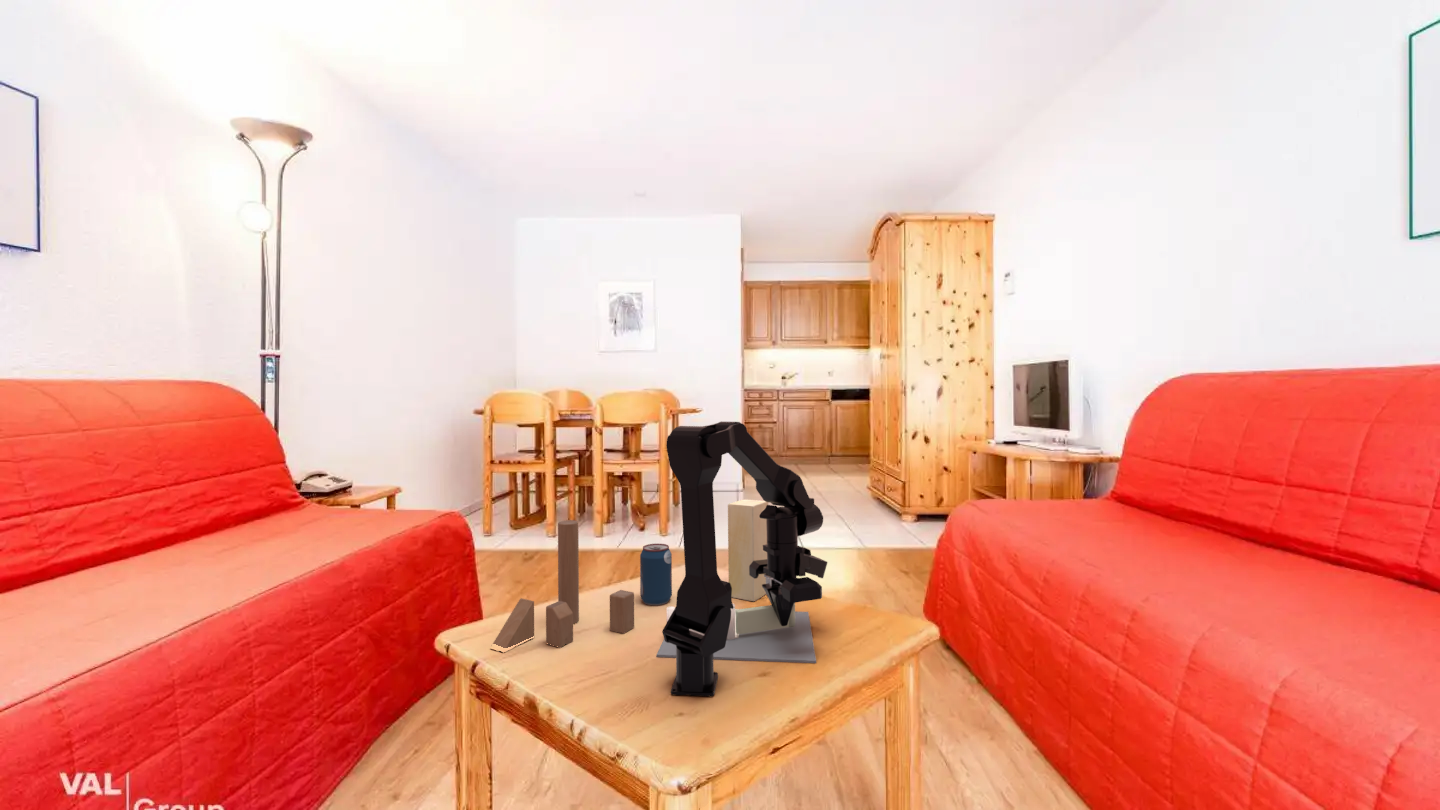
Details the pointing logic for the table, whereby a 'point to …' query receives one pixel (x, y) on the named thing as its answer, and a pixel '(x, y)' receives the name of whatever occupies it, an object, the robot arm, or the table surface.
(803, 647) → the card
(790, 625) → the swinging fence panel
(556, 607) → the wooden blocks
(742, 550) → the tall beige block
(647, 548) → the soda can
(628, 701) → the table surface
